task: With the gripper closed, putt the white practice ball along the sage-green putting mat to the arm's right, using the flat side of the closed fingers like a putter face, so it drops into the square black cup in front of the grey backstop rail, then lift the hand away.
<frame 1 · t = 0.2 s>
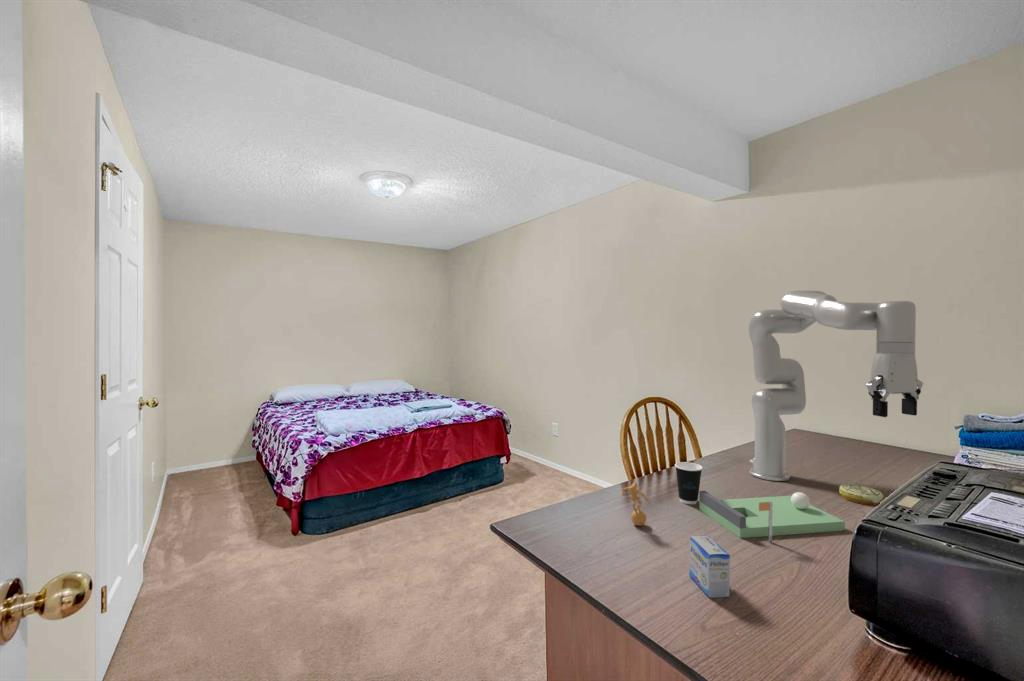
hand: (894, 415, 112), 30 cm above the table, fingers open, 9 cm apart
medicine box: (708, 587, 88), on the table
flag pin: (770, 542, 107), on the table
mat: (767, 519, 120), on the table
dixie cup: (688, 501, 133), on the table
decorated donut: (860, 500, 134), on the table
ball: (800, 500, 121), point 5 cm above the table, touching mat
figurine: (636, 526, 116), on the table
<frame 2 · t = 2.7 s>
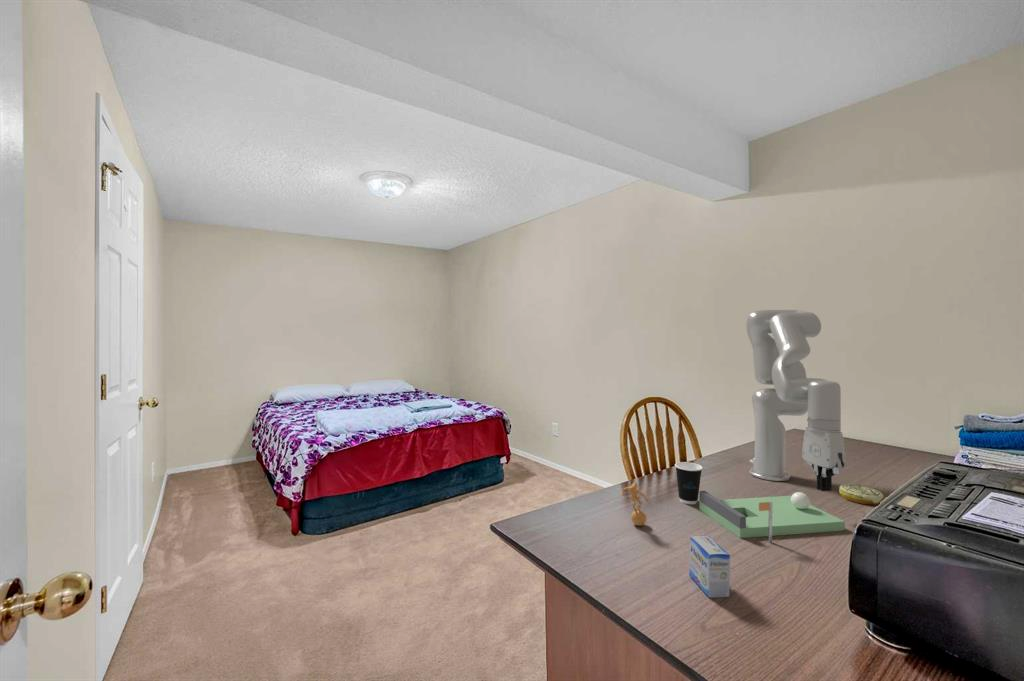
hand: (824, 489, 121), 8 cm above the table, fingers closed
nothing on the table moved.
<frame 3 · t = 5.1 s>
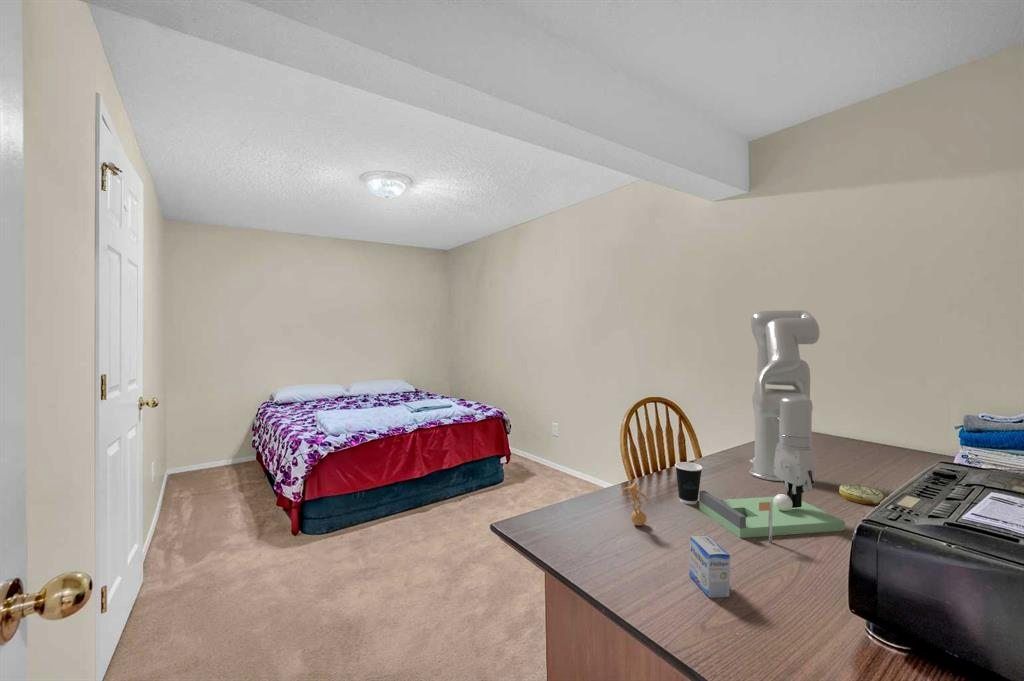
hand: (794, 506, 121), 3 cm above the table, fingers closed
ball: (782, 502, 120), point 5 cm above the table, tilted 143°, touching mat
everything else where it was.
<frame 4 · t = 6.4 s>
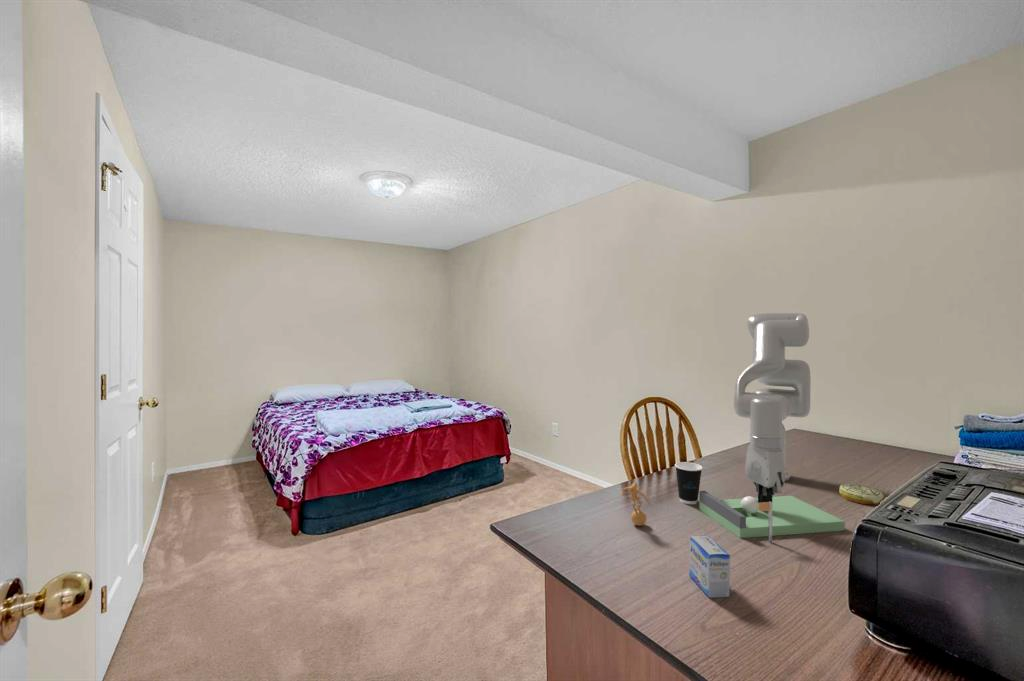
hand: (764, 508, 120), 3 cm above the table, fingers closed
ball: (750, 504, 119), point 5 cm above the table, tilted 38°
everything else where it was.
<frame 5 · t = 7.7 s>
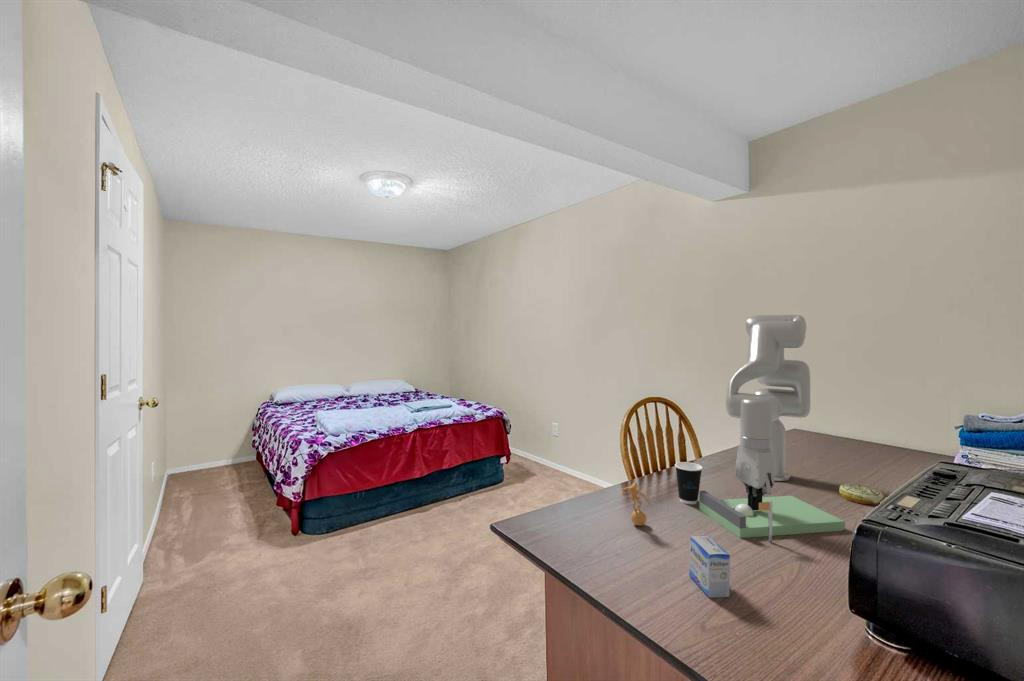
hand: (754, 508, 119), 3 cm above the table, fingers closed
ball: (743, 512, 118), point 3 cm above the table, tilted 110°, touching gripper, mat
everything else where it was.
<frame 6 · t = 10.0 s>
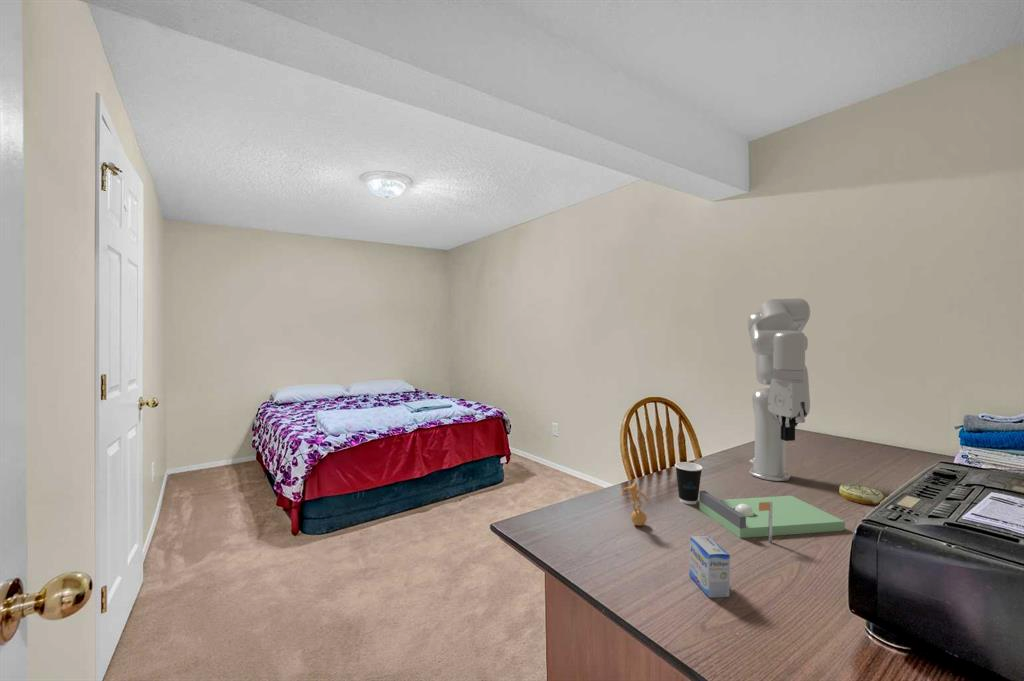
hand: (787, 439, 122), 21 cm above the table, fingers closed
ball: (744, 512, 118), point 3 cm above the table, tilted 108°, touching mat
everything else where it was.
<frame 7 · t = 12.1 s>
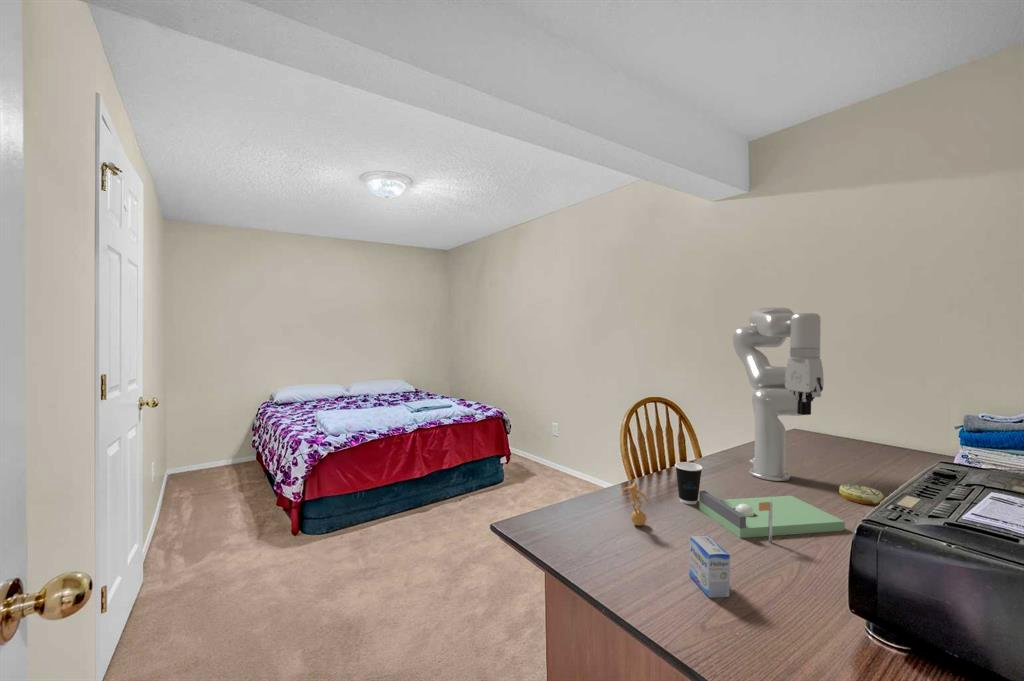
hand: (804, 414, 131), 27 cm above the table, fingers closed
nothing on the table moved.
at the end: ball 0.7 cm from the target spot on the mat, point 2.5 cm above the mat's base; ball touching mat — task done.
